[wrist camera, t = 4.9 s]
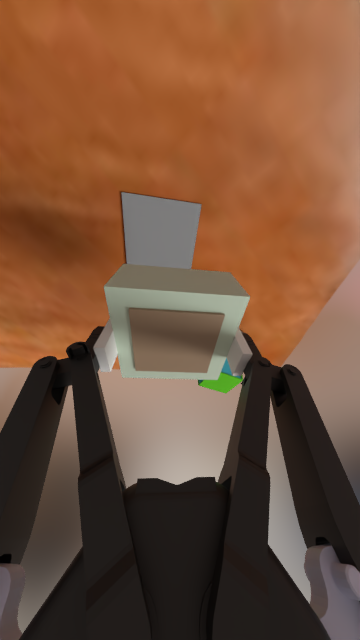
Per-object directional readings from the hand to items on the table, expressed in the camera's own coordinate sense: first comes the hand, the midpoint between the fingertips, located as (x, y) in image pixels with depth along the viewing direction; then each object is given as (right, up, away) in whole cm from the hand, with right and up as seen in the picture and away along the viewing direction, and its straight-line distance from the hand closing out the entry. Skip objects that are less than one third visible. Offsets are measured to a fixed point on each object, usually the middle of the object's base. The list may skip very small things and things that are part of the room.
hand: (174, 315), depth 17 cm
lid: (0, 0, 0) cm, 0 cm away
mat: (-3, +13, +10) cm, 17 cm away
